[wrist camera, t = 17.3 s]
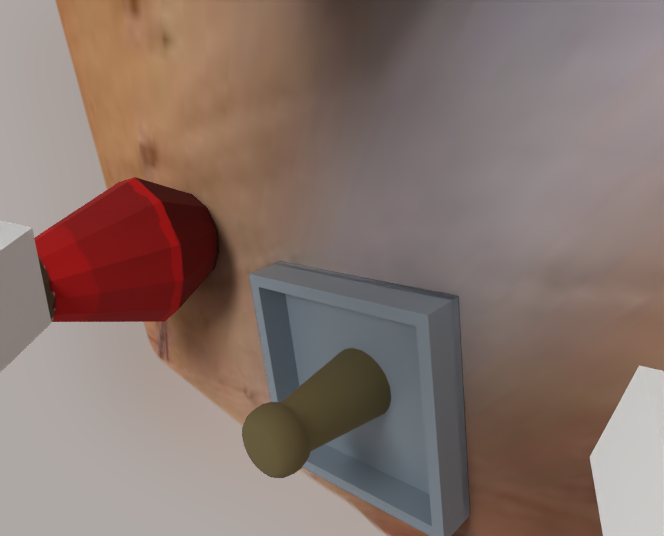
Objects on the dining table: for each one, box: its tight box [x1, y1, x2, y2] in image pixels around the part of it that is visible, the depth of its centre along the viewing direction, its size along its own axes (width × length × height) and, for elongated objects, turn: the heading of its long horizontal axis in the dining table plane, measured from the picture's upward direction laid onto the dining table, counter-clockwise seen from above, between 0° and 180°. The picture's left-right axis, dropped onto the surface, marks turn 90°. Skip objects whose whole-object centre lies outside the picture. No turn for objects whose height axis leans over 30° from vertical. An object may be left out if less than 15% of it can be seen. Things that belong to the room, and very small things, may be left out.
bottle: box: [34, 178, 219, 322], centre depth 54 cm, size 16×14×20 cm
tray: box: [249, 261, 470, 536], centre depth 47 cm, size 18×18×4 cm
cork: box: [242, 348, 391, 478], centre depth 44 cm, size 6×6×11 cm
